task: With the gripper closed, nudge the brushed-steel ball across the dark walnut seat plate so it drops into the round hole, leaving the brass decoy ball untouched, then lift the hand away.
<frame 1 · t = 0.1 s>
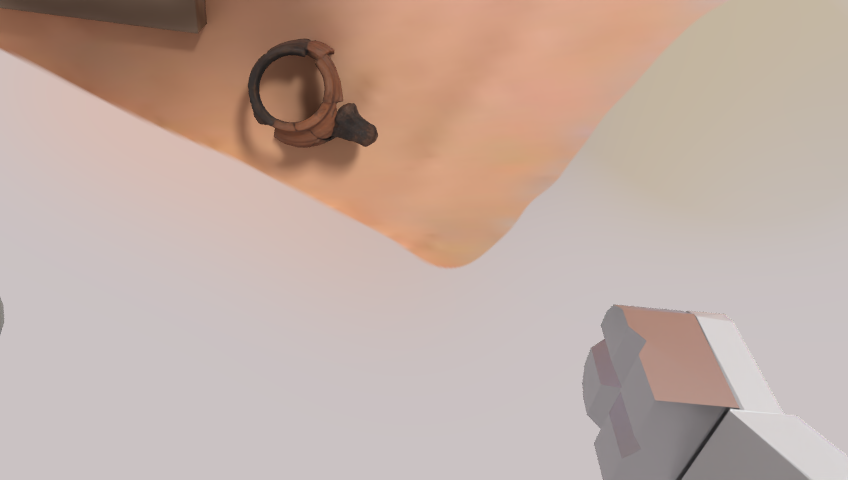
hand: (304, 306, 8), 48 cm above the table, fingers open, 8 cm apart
dark brown piece: (320, 91, 58), on the table
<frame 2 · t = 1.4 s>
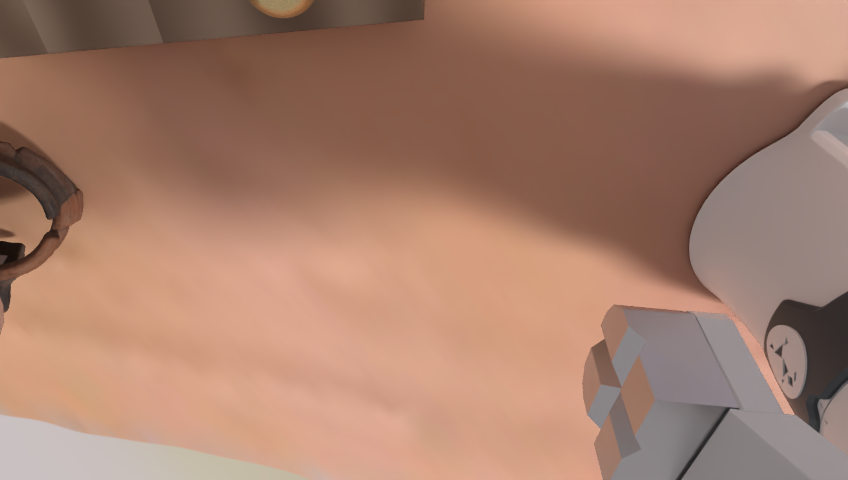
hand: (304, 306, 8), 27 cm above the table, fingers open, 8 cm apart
dark brown piece: (14, 195, 40), on the table
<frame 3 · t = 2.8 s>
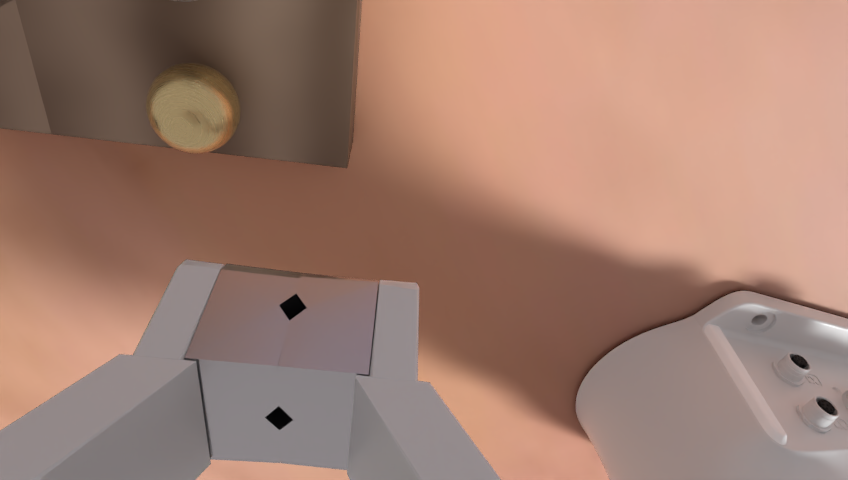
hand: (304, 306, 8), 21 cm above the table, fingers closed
brass decoy: (194, 108, 24), point 4 cm above the table, touching seat plate
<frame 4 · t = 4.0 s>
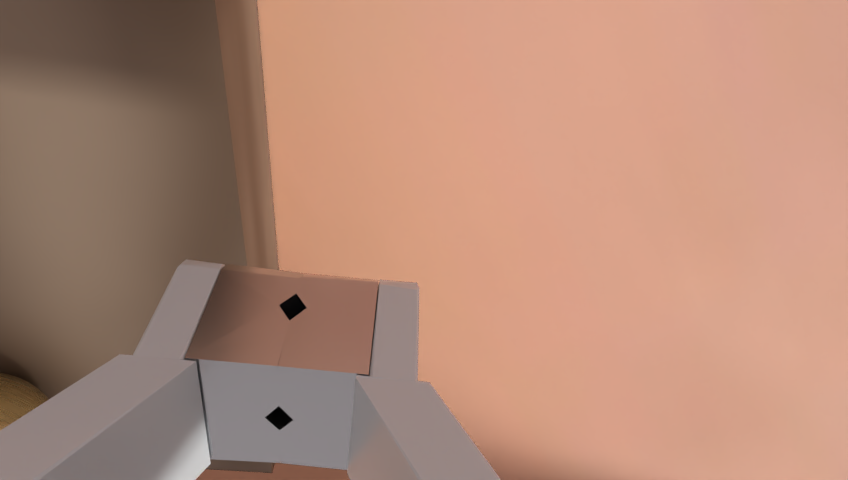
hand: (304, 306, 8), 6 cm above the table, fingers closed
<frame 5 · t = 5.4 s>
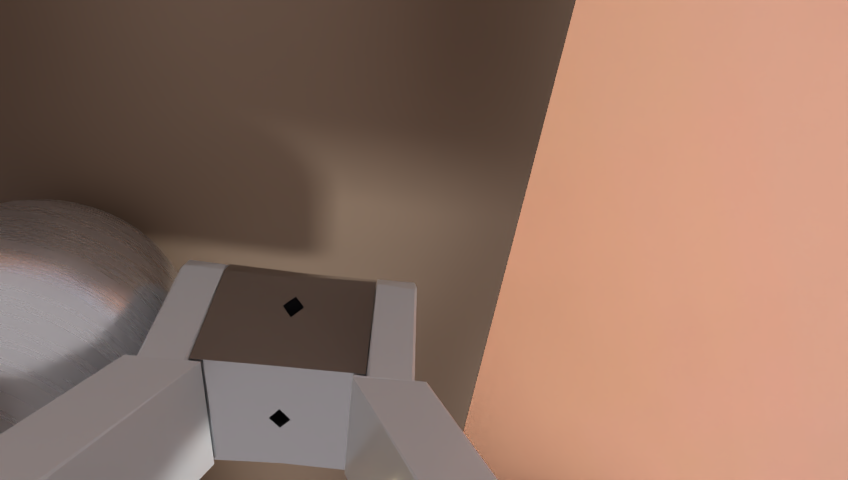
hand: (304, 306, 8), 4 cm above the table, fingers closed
steel ball: (44, 337, 8), point 4 cm above the table, touching gripper, seat plate
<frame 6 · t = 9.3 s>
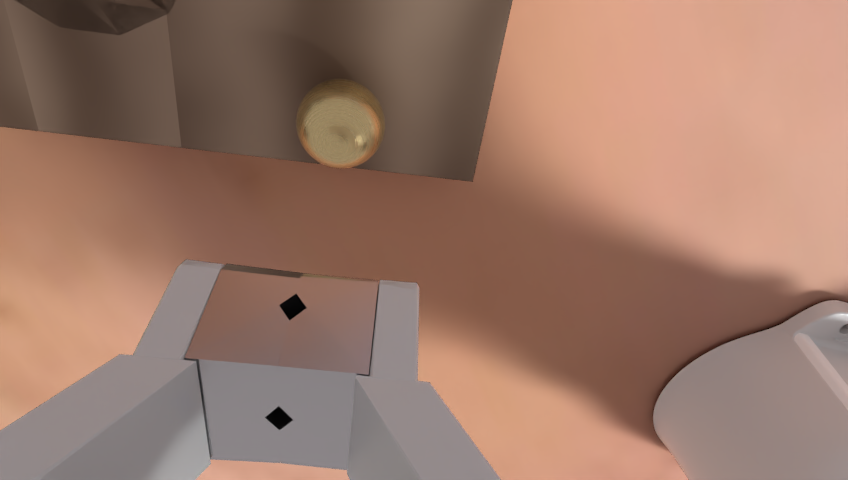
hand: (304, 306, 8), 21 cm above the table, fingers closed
brass decoy: (341, 124, 25), point 4 cm above the table, touching seat plate
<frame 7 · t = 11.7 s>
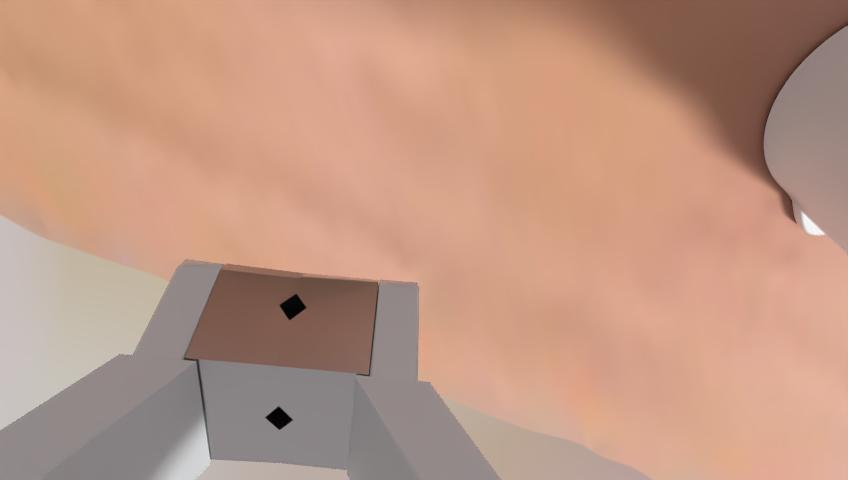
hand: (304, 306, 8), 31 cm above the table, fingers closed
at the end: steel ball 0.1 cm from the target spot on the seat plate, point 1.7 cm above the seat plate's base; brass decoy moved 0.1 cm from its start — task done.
